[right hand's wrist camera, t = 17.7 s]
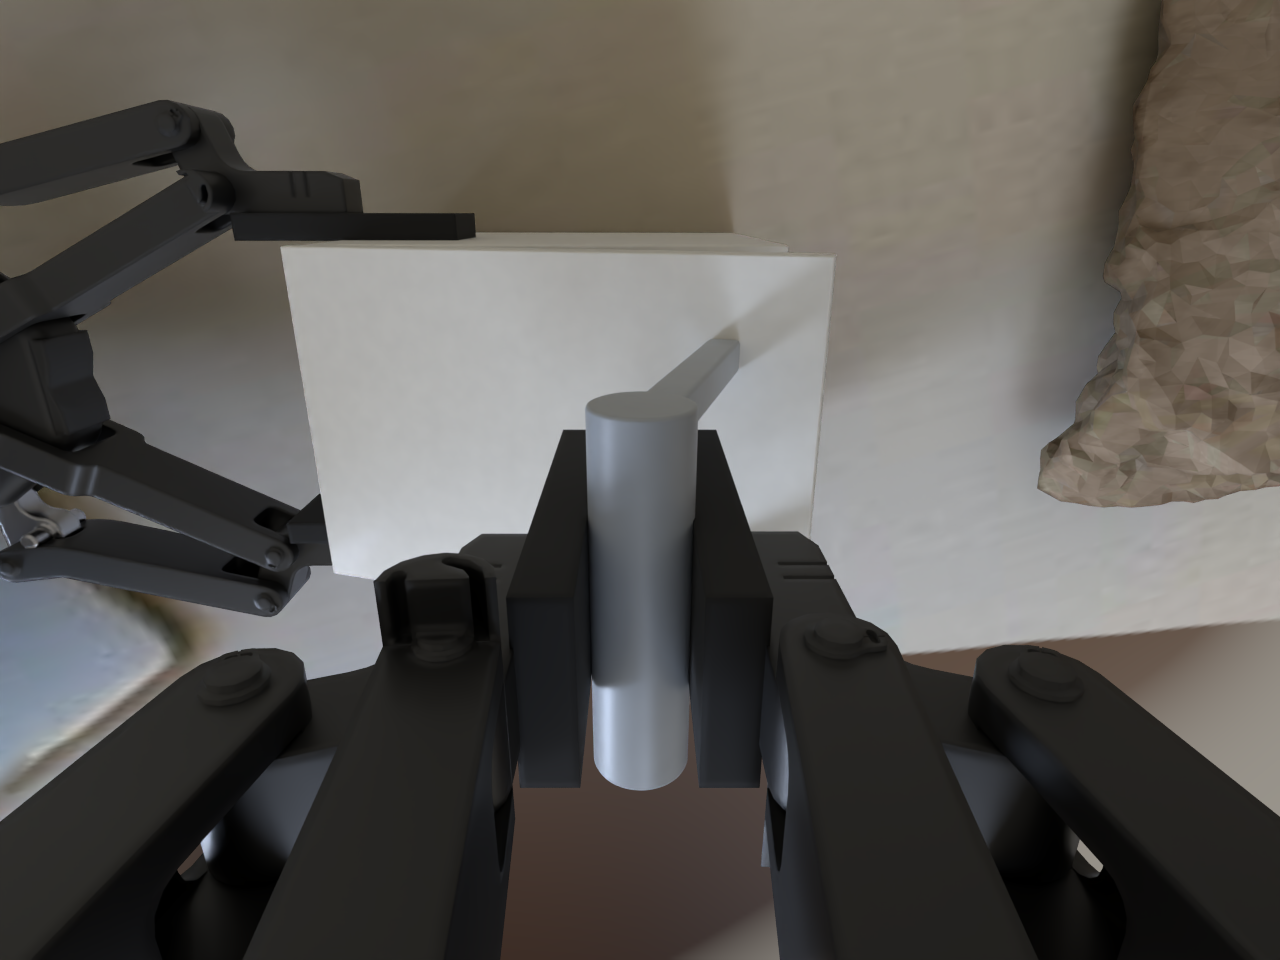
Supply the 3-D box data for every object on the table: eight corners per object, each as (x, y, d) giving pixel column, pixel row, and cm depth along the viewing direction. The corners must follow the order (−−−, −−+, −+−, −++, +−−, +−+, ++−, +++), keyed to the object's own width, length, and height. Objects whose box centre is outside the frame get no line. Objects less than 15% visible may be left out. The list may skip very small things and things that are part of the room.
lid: (836, 253, 15) (811, 292, 8) (802, 627, 18) (761, 901, 11) (305, 244, 19) (-54, 265, 11) (353, 560, 22) (97, 734, 15)
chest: (734, 232, 29) (789, 244, 19) (724, 448, 32) (767, 557, 22) (417, 232, 29) (301, 244, 19) (439, 448, 32) (350, 559, 22)
